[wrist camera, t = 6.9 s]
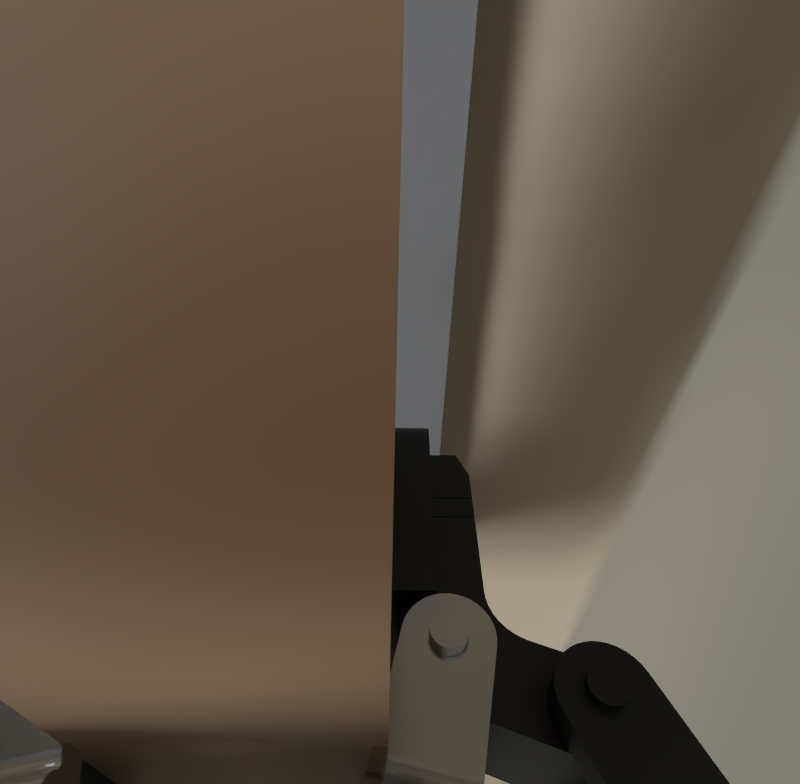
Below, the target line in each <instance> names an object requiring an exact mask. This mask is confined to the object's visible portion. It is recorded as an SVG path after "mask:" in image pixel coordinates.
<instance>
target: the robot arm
mask: <svg viewBox="0 0 800 784" xmlns="http://www.w3.org/2000/svg"><path fill="white" fill-rule="evenodd" d="M83 755H84V754H83V753H82V752H80V751H79V750H78V749H77V748H75V747H74V746H73V745H72V744H71V743H59V742H58V741H56V740H55V739H54V738H52V737H51V736H50V735H48V734H47V733H45V732H44V731H43V730H41V729H40V728H39V727H37V726H36V725H34V724H33V723H32V722H30V721H29V720H28V719H26V718H25V717H23V716H22V715H21V714H19V713H18V712H17V711H15V710H14V709H12V708H11V707H10V706H8V705H7V704H5V703H4V702H3V701H1V700H0V784H116V783H114V782H113V781H112V780H110V779H109V778H107V777H106V776H105V775H103V774H102V773H101V772H99V771H98V770H96V769H95V768H94V767H92V766H91V765H89V764H88V763H87V762H85V761H84V760H83ZM485 774H487V775H490V776H492V777H495V778H497V779H500V780H502V781H505V782H508V783H510V784H729V782H728V781H727V779H726V778H725V777H724V775H723V774H722V773H721V771H720V770H719V769H718V767H717V766H716V764H715V763H714V762H713V761H712V759H711V758H710V756H709V755H708V753H707V752H706V751H705V749H704V748H703V747H702V745H701V744H700V743H699V741H698V740H697V738H696V737H695V736H694V734H693V733H692V732H691V731H690V729H689V728H688V726H687V725H686V723H685V722H684V721H683V719H682V718H681V717H680V715H679V714H678V712H677V711H676V710H675V709H674V707H673V706H672V704H671V703H670V702H669V700H668V699H667V697H666V696H665V695H664V693H663V692H662V691H661V689H660V688H659V686H658V685H657V684H656V682H655V681H654V680H653V678H652V677H651V676H650V674H649V673H648V672H647V670H646V669H645V668H644V667H643V666H642V664H641V663H640V662H638V661H637V660H636V659H635V658H634V657H633V656H631V655H630V654H628V653H627V652H626V651H624V650H622V649H620V648H618V647H616V646H613V645H610V644H607V643H603V642H596V641H588V642H582V643H578V644H576V645H573V646H572V647H570V648H568V649H567V650H566V651H565V652H561V651H558V650H555V649H552V648H549V647H546V646H543V645H540V644H537V643H534V642H531V641H528V640H526V639H523V638H521V637H519V636H517V635H516V634H514V633H512V632H511V631H509V630H508V629H507V628H505V627H504V626H503V625H502V624H501V623H500V622H499V621H498V620H497V618H496V617H495V616H494V615H493V613H492V612H491V610H490V608H489V606H488V604H487V601H486V599H485V594H484V589H483V581H482V573H481V565H480V557H479V550H478V542H477V534H476V526H475V522H474V511H473V503H472V495H471V487H470V480H469V475H468V473H467V472H466V470H465V469H464V467H463V466H462V464H461V463H460V462H459V460H458V459H457V457H456V456H450V455H430V444H429V430H428V428H395V457H394V504H393V551H392V597H391V644H390V690H389V737H388V746H373V747H372V751H371V755H370V759H369V762H368V766H367V768H366V771H365V772H364V773H363V775H362V777H361V779H360V782H359V784H484V779H485Z"/></svg>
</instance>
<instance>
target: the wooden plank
mask: <svg viewBox="0 0 800 784" xmlns="http://www.w3.org/2000/svg"><path fill="white" fill-rule="evenodd" d="M403 38H404V0H0V700H1V701H3V702H4V703H5V704H7V705H8V706H10V707H11V708H12V709H14V710H15V711H17V712H18V713H19V714H21V715H22V716H23V717H25V718H26V719H28V720H29V721H30V722H32V723H33V724H34V725H36V726H37V727H39V728H40V729H41V730H43V731H44V732H45V733H47V734H48V735H50V736H51V737H52V738H54V739H55V740H56V741H58V742H59V743H71V744H72V745H73V746H74V747H75V748H77V749H78V750H79V751H80V752H82V753H83V754H84V755H83V760H84V761H85V762H87V763H88V764H89V765H91V766H92V767H94V768H95V769H96V770H98V771H99V772H101V773H102V774H103V775H105V776H106V777H107V778H109V779H110V780H112V781H113V782H114V783H116V784H359V782H360V779H361V777H362V775H363V773H364V772H365V771H366V768H367V766H368V762H369V759H370V755H371V751H372V747H373V746H388V737H389V690H390V644H391V597H392V551H393V504H394V457H395V411H396V364H397V318H398V271H399V224H400V178H401V131H402V85H403Z"/></svg>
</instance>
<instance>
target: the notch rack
mask: <svg viewBox="0 0 800 784" xmlns="http://www.w3.org/2000/svg"><path fill="white" fill-rule="evenodd" d="M477 10H478V0H404V38H403V85H402V131H401V178H400V224H399V271H398V318H397V364H396V411H395V428H428V430H429V444H430V455H440V446H441V434H442V422H443V411H444V399H445V387H446V375H447V363H448V352H449V340H450V328H451V316H452V305H453V293H454V281H455V269H456V257H457V246H458V234H459V222H460V210H461V198H462V187H463V175H464V163H465V151H466V140H467V128H468V116H469V104H470V92H471V81H472V69H473V57H474V45H475V34H476V22H477Z"/></svg>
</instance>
